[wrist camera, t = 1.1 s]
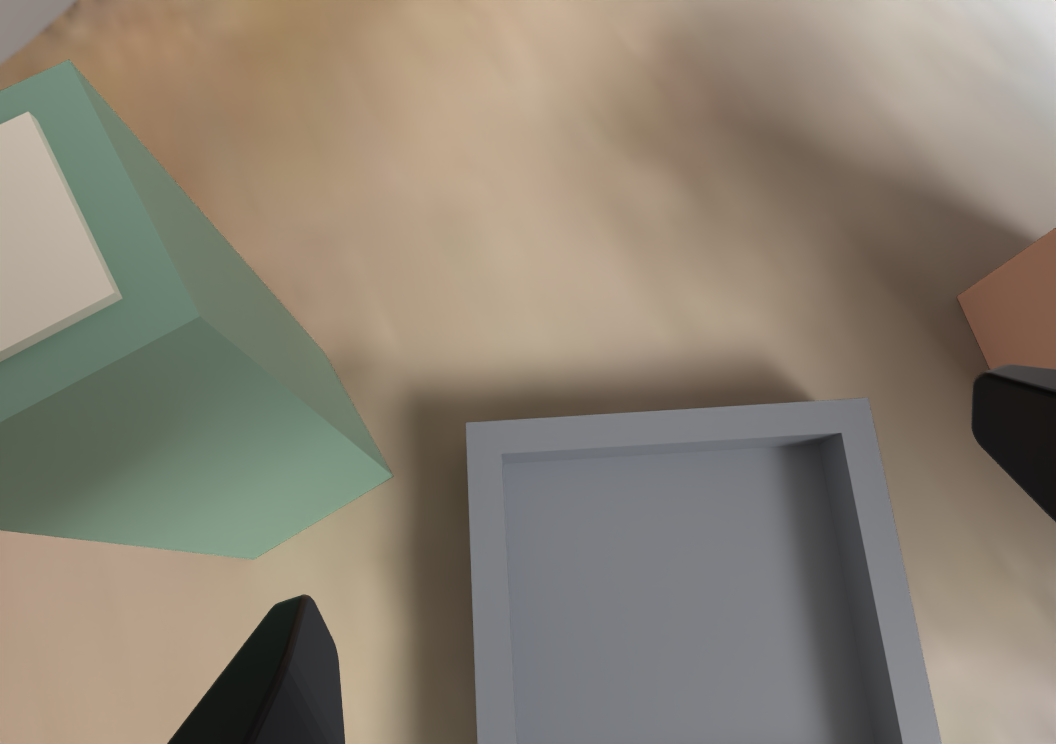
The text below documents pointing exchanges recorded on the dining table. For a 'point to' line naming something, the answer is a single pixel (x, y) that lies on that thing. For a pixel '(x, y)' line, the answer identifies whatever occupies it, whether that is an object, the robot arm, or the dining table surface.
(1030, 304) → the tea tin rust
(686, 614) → the tray
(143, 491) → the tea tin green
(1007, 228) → the dining table surface
